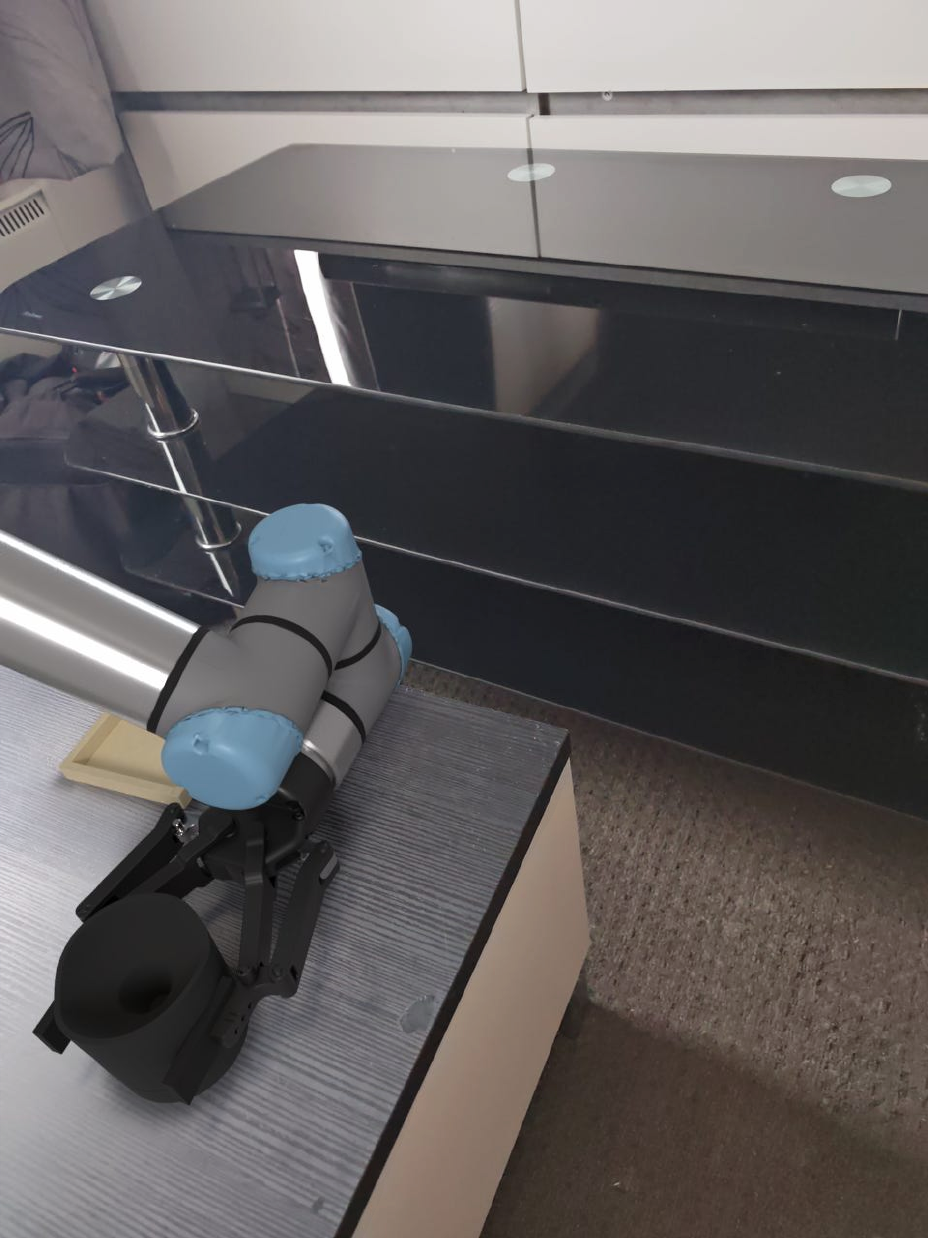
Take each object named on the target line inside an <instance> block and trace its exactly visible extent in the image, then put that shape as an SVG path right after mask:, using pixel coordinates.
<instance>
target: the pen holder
mask: <svg viewBox="0 0 928 1238" xmlns="http://www.w3.org/2000/svg"><path fill="white" fill-rule="evenodd" d="M222 976H226V977H229V978H232V979H233V980H234V981H235V983H236V982H237V981H238V980H236V977H235V976H234V973H233V972H232V970H231V969H230V967H229V965H228V963H227V962H226V960H225V958H224V956H223V955H222V953H221V951H220V949H219V947H218V946H217V944H216V942H215V941H214V938H213V937H212V936H211V934H210V932H209V930H208V929H207V927H206V925H205V923H204V921H203V920H202V918H201V917H200V915H199V914H198V913H197V912H196V911H195V909H194V908H193V907H192V906H191V905H190V904H189V903H187V902H186V901H185V900H183V899H180V898H178V897H176V896H173V895H170V894H165V893H142V894H137V895H132V896H129V897H126V898H123V899H121V900H118V901H116V902H114V903H112V904H110V905H108V906H106V907H105V908H103V909H101V910H100V911H98V912H97V913H95V914H94V915H93V916H92V917H90V918H89V919H88V920H87V921H85V922H84V923H82V924H81V925H80V926H79V927H78V928H77V929H76V930H75V931H74V933H73V934H72V935H71V936H70V938H69V939H68V940H67V942H66V944H64V947H63V949H62V952H61V953H60V956H59V958H58V962H57V965H56V970H55V978H54V993H53V1001H54V1015H55V1021H56V1024H57V1026H58V1028H59V1030H60V1031H61V1032H62V1033H63V1034H64V1035H65V1036H66V1037H68V1038H69V1039H70V1040H71V1041H70V1042H72V1043H74V1045H76V1046H77V1047H78V1048H79V1049H80V1050H81V1051H83V1052H84V1053H85V1054H86V1055H88V1057H90V1058H91V1059H92V1060H93V1061H95V1062H96V1063H97V1064H98V1065H99V1066H101V1068H103V1069H104V1070H105V1071H106V1072H107V1073H109V1074H110V1075H111V1076H112V1077H114V1078H115V1079H116V1080H117V1081H118V1082H120V1083H121V1084H122V1085H124V1086H125V1087H126V1088H128V1089H129V1090H130V1091H131V1092H133V1093H134V1094H136V1095H137V1096H139V1097H140V1098H142V1099H144V1100H147V1101H149V1102H153V1103H158V1104H174V1103H175V1104H176V1103H180V1102H179V1101H178V1100H177V1099H176V1098H175V1097H174V1096H173V1095H172V1094H171V1093H170V1091H169V1090H168V1089H167V1088H166V1087H165V1086H164V1085H163V1084H162V1081H163V1079H164V1078H165V1076H166V1074H167V1072H168V1071H169V1069H170V1067H171V1065H172V1063H173V1062H174V1060H175V1058H176V1056H177V1055H178V1053H179V1051H180V1049H181V1048H182V1046H183V1044H184V1042H185V1041H186V1039H187V1037H188V1035H189V1034H190V1032H191V1030H192V1028H193V1026H194V1025H195V1023H196V1022H197V1020H198V1019H199V1017H200V1016H201V1015H202V1013H203V1012H204V1010H205V1008H206V1007H207V1005H208V1003H209V1001H210V999H211V997H212V995H213V992H214V990H215V988H216V986H217V984H218V982H219V981H220V979H221V977H222ZM248 1027H249V1021H248V1022H247V1024H246V1025H245V1028H244V1030H243V1031H242V1034H241V1036H240V1037H239V1039H238V1041H237V1042H236V1043H235V1044H234V1045H233V1046H232V1047H231V1048H230V1049H229V1048H227V1047H224V1046H221V1048H220V1050H219V1052H218V1053H217V1055H216V1057H215V1059H214V1061H213V1063H212V1065H211V1066H210V1068H209V1070H208V1072H207V1074H206V1076H205V1078H204V1079H203V1081H202V1083H201V1085H200V1087H199V1089H198V1091H197V1092H196V1094H195V1096H194V1097H196V1096H198V1095H201V1094H202V1093H204V1092H205V1091H207V1090H208V1089H209V1090H210V1088H211V1087H213V1086H214V1085H216V1083H218V1081H220V1080H221V1079H222V1078H223V1077H224V1076H225V1075H226V1073H227V1072H228V1071H229V1070H230V1068H231V1067H232V1066H233V1065H234V1063H235V1061H236V1060H237V1058H238V1056H239V1055H240V1053H241V1051H242V1048H243V1046H244V1044H245V1040H246V1037H247V1035H248V1034H247V1033H248Z"/></svg>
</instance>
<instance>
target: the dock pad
mask: <svg viewBox="0 0 928 1238" xmlns="http://www.w3.org/2000/svg"><path fill="white" fill-rule="evenodd" d="M164 743H165V740H164V739H163V738H161V737H159V736H157V735H155V734H153V733H151V732H148V731H146V730H144V729H142V728H140V727H137V726H135V725H133V724H131V723H129V722H126V721H124V720H122V719H120V718H117V717H115V716H113V715H111V714H109V713H106V712H104V711H103V712H102V714H101V715H100V716H99V717H98V719H96V721H95V722H94V723H93V725H92V726H91V727H90V728H89V729H88V730H87V732H86V733H85V734H84V735H83V736H82V737H81V739H80V740H79V741H78V742H77V743H76V745H75V746H74V747H73V748H72V749H71V751H70V752H69V753H68V754H67V756H66V757H65V758H64V759H63V760H62V762H61V763H60V764H59V766H58V769H59V770H60V771H61V773H62V774H63V776H64V778H65V779H67V780H71V781H75V782H78V783H82V784H86V785H90V786H95V787H97V788H102V789H104V790H105V789H106V790H109V791H114V792H118V793H121V794H125V795H128V796H132V797H137V798H141V799H144V800H148V801H152V802H156V803H160V804H164V805H167V806H168V805H169V804H170V803H173V802H177V803H179V804H180V805H181V807H182V808H183V810H185V809H186V808H187V807H188V806H189V804H190V803H191V801H192V799H193V798H192V797H191V796H189V794H188V792H187V790H186V789H185V788H183V787H179V786H177V785H175V784H174V783H173V782H172V781H171V780H170V779H169V777H168V776H167V774H166V773H165V771H164V769H163V766H162V762H161V751H162V748H163V745H164Z"/></svg>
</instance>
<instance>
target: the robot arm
mask: <svg viewBox="0 0 928 1238" xmlns="http://www.w3.org/2000/svg"><path fill="white" fill-rule="evenodd" d="M247 546H248V547H247V548H248V549H247V550H248V554H249V558H250V561H251V564H250V566H251V571H252V573H253V574H254V575H255V576H256V578H257V581H256V582H257V583H256V586H255V587H254V589H253V591H252V593H251V594H250V596H249V598H248V599H247V601H246V603H245V604H244V606H243V608H242V610H241V611H240V613H239V615H238V617H237V618H236V620H235V622H234V623H233V625H232V627H231V629H230V630H229V632H228V633H227V634H226V635H223V634H222V633H219V632H217V631H214V630H211V629H209V628H207V627H205V626H203V625H201V624H200V623H197V622H196V621H193V620H191V619H188V618H186V617H184V616H182V615H180V614H178V613H176V612H174V611H172V610H170V609H168V608H165V607H163V606H161V605H159V604H157V603H156V602H153V601H151V600H149V599H147V598H145V597H142V595H141V596H140V595H138V594H137V593H134V592H132V591H131V590H128V589H127V588H124V587H122V586H120V585H117V584H116V583H113V582H112V581H109V580H107V579H105V578H103V577H102V576H99V575H97V574H95V573H93V572H90V571H89V570H86V569H85V568H83V567H80V566H78V565H76V564H74V563H72V562H70V561H68V560H66V559H63V558H61V557H60V556H57V555H55V554H53V553H52V552H49V551H47V550H45V549H43V548H41V547H39V546H36V545H34V544H32V543H30V542H29V541H26V540H24V539H22V538H19V537H18V536H16V535H14V534H12V533H9V532H8V531H5V530H3V529H1V528H0V666H1V667H2V666H3V667H4V668H7V669H9V670H12V671H13V672H16V673H18V674H20V675H22V676H24V677H27V678H29V679H31V680H34V681H36V682H38V683H39V684H42V685H44V686H47V687H49V688H52V689H54V690H56V691H58V692H60V693H62V694H65V695H67V696H69V697H71V698H74V700H75V699H76V700H77V701H80V702H82V703H84V704H87V705H89V706H91V707H93V708H96V709H97V710H100V711H102V712H103V713H104V712H106V713H109V714H111V715H113V716H115V717H117V718H120V719H122V720H124V721H126V722H129V723H131V724H133V725H135V726H137V727H140V728H142V729H144V730H146V731H148V732H151V733H153V734H155V735H157V736H159V737H161V738H163V739H164V740H165V743H164V745H163V748H162V751H161V762H162V766H163V769H164V771H165V773H166V774H167V776H168V777H169V779H170V780H171V781H172V782H173V783H174V784H175V785H177V786H179V787H183V788H185V789H186V790H187V792H188V794H189V796H191V797H192V799H194V800H196V801H197V802H200V803H202V804H205V805H208V807H207V808H206V809H204V810H203V811H202V812H197V811H189V810H185V809H183V808H182V807H181V805H180V804H179V803H177V802H173V803H170V804H169V805H168V804H167V805H166V806H165V808H164V810H163V811H162V813H161V815H160V817H159V819H158V820H157V822H156V824H155V825H154V827H153V828H152V829H151V830H150V832H148V834H146V835H145V836H144V837H143V838H142V839H141V841H140V842H139V843H137V845H136V846H135V847H134V848H133V849H132V850H131V851H129V853H128V854H127V855H126V856H125V857H124V858H123V859H122V860H121V861H120V862H119V863H118V864H117V865H116V866H115V867H114V868H113V869H112V870H111V871H110V872H109V873H108V874H107V875H106V876H105V877H104V878H103V879H102V880H101V881H100V882H99V883H98V884H97V886H96V887H94V888H93V889H92V891H91V892H90V893H89V894H88V895H87V896H86V897H84V898H83V900H81V901H80V903H78V905H77V906H76V908H75V911H74V912H75V913H74V914H75V915H76V917H77V918H78V919H79V920H80V921H81V923H82V924H83V923H84V922H85V921H87V920H88V919H89V918H90V917H92V916H93V915H94V914H95V913H97V912H98V911H100V910H101V909H103V908H105V907H106V906H108V905H110V904H112V903H114V902H116V901H118V900H121V899H123V898H126V897H129V896H132V895H137V894H142V893H165V894H170V895H173V896H176V897H178V898H180V899H181V900H183V899H184V898H185V897H187V896H188V895H189V894H190V893H192V892H193V891H194V890H196V889H198V888H204V887H207V886H208V885H209V884H210V883H212V882H213V881H214V880H219V881H223V882H235V883H236V884H238V885H240V887H243V888H244V896H243V897H244V899H243V907H242V920H241V929H240V941H239V951H238V962H237V968H236V967H233V974H235V976H236V978H237V980H236V981H237V982H236V983H235V981H234V980H233V979H232V978H229V977H226V976H222V977H221V979H220V981H219V982H218V984H217V986H216V988H215V990H214V992H213V995H212V997H211V999H210V1001H209V1003H208V1005H207V1007H206V1008H205V1010H204V1012H203V1013H202V1015H201V1016H200V1017H199V1019H198V1020H197V1022H196V1023H195V1025H194V1026H193V1028H192V1030H191V1032H190V1034H189V1035H188V1037H187V1039H186V1041H185V1042H184V1044H183V1046H182V1048H181V1049H180V1051H179V1053H178V1055H177V1056H176V1058H175V1060H174V1062H173V1063H172V1065H171V1067H170V1069H169V1071H168V1072H167V1074H166V1076H165V1078H164V1079H163V1081H162V1084H163V1085H164V1086H165V1087H166V1088H167V1089H168V1090H169V1091H170V1093H171V1094H172V1095H173V1096H174V1097H175V1098H176V1099H177V1100H178V1101H179V1102H178V1103H182V1104H185V1105H187V1106H190V1105H191V1103H192V1102H193V1100H194V1098H195V1097H196V1096H195V1094H196V1092H197V1091H198V1089H199V1087H200V1085H201V1083H202V1081H203V1079H204V1078H205V1076H206V1074H207V1072H208V1070H209V1068H210V1066H211V1065H212V1063H213V1061H214V1059H215V1057H216V1055H217V1053H218V1052H219V1050H220V1048H221V1046H224V1047H227V1048H229V1049H230V1048H231V1047H232V1046H233V1045H234V1044H235V1043H236V1042H237V1041H238V1039H239V1037H240V1036H241V1034H242V1031H243V1030H244V1028H245V1025H246V1024H247V1022H248V1023H249V1020H250V1019H251V1016H252V1015H253V1013H254V1011H255V1009H256V1007H257V1005H258V1004H259V1002H260V1001H261V1000H262V999H264V998H266V997H270V996H280V997H281V998H283V999H291V998H293V997H294V996H295V995H296V994H297V992H298V989H299V986H300V983H301V979H302V975H303V971H304V968H305V964H306V961H307V957H308V954H309V950H310V946H311V943H312V940H313V936H314V933H315V929H316V925H317V921H318V918H319V914H320V910H321V907H322V903H323V900H324V896H325V893H326V892H325V891H326V890H327V889H328V887H329V886H330V884H331V883H332V882H333V880H334V878H336V876H337V874H338V872H339V871H340V869H341V863H340V862H339V859H338V857H337V854H336V852H335V850H334V848H333V845H332V843H331V842H330V841H329V840H326V839H324V840H320V841H318V842H317V843H315V842H314V841H311V840H310V837H311V836H312V835H313V834H314V833H315V832H316V831H317V828H318V827H319V825H320V823H321V822H322V819H323V818H324V816H325V814H326V812H327V811H328V809H329V807H330V805H331V803H332V802H333V800H334V797H335V792H336V791H337V790H339V788H340V787H341V785H342V783H343V781H344V779H345V778H346V776H347V774H348V772H349V770H350V769H351V767H352V765H353V763H354V762H355V760H356V758H357V756H359V753H360V751H361V749H362V747H363V745H364V744H365V741H366V739H367V738H368V735H369V734H370V732H371V730H372V729H373V727H374V726H375V723H376V722H377V721H378V718H379V717H380V716H381V714H382V712H383V710H384V708H385V706H386V705H387V703H388V702H389V700H390V698H391V697H392V695H393V694H394V693H395V691H396V690H397V689H398V688H399V685H400V683H401V681H402V677H403V676H404V672H405V670H406V669H407V668H406V667H407V665H408V663H409V661H410V659H411V657H412V651H413V642H412V638H411V635H410V632H409V630H408V628H407V627H405V626H403V625H402V624H401V623H400V622H399V617H398V616H397V615H396V614H394V613H393V612H391V610H389V609H387V608H385V607H384V606H381V605H379V604H376V603H375V602H374V601H375V600H374V598H373V595H372V591H371V587H370V583H369V579H368V576H367V573H366V568H365V565H364V561H363V552H362V550H360V548H359V546H358V544H357V541H356V538H355V536H354V534H353V531H352V528H351V525H350V523H349V521H348V519H347V518H346V516H345V515H344V514H343V513H342V512H341V511H339V509H336V508H335V507H333V506H330V505H327V504H324V503H318V502H317V503H303V502H302V503H296V504H292V505H288V506H286V507H283V508H279V509H278V510H275V511H273V512H272V513H270V514H268V515H267V516H265V517H264V518H263V519H262V520H260V521H259V522H258V523H257V524H255V526H254V528H253V529H252V531H251V532H250V535H249V536H248V542H247ZM197 833H198V835H196V836H195V837H194V838H192V837H193V836H194V835H195V834H197ZM199 858H200V860H201V863H202V864H203V865H202V866H200V864H199V863H198V859H199ZM297 862H298V866H299V869H298V872H297V875H296V877H295V881H294V884H293V887H292V890H291V893H290V897H289V900H288V904H287V907H286V910H285V914H284V916H283V920H282V924H281V927H280V930H279V933H278V936H277V940H276V943H275V946H274V950H273V952H272V938H273V926H274V925H273V923H274V908H275V902H276V901H277V900H278V899H277V898H278V885H279V884H278V883H279V874H280V873H282V872H284V870H286V869H288V868H289V867H291V866H293V865H294V864H297ZM271 955H272V956H271ZM31 1033H32V1034H33V1035H34V1036H35V1037H36V1038H37V1039H39V1041H41V1042H42V1043H43V1044H44V1045H45V1046H46V1047H47V1048H48V1049H49V1050H50V1051H52V1052H53V1053H56V1054H59V1055H63V1053H65V1051H66V1049H67V1047H68V1046H69V1045H70V1043H71V1042H72V1041H71V1040H70V1039H69V1038H68V1037H66V1036H65V1035H64V1034H63V1033H62V1032H61V1031H60V1030H59V1028H58V1026H57V1024H56V1021H55V1015H54V1000H52V1002H51V1004H50V1005H49V1006H48V1008H47V1010H46V1011H45V1012H44V1013H43V1015H42V1016H41V1018H40V1019H39V1021H38V1022H37V1023H36V1025H35V1027H34V1028H33V1030H32V1031H31Z"/></svg>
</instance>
